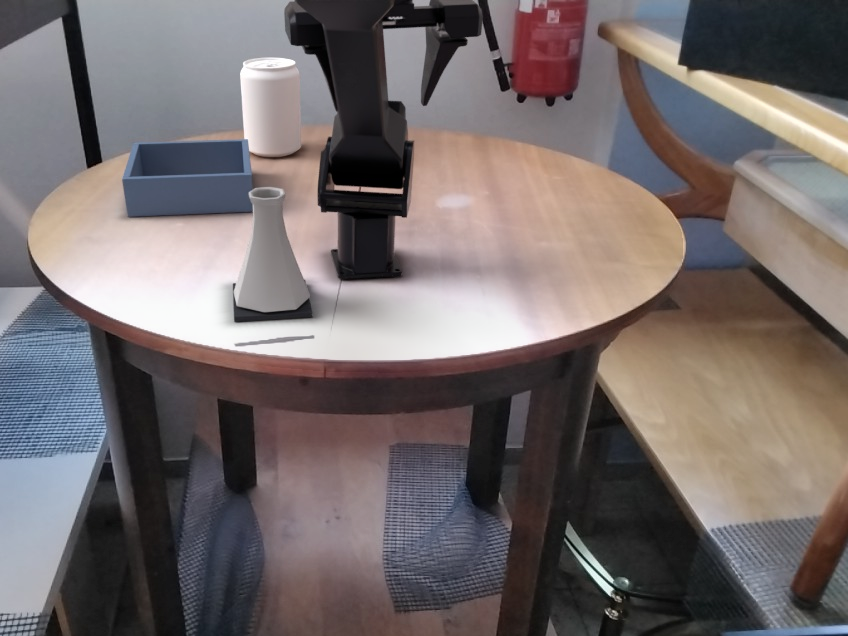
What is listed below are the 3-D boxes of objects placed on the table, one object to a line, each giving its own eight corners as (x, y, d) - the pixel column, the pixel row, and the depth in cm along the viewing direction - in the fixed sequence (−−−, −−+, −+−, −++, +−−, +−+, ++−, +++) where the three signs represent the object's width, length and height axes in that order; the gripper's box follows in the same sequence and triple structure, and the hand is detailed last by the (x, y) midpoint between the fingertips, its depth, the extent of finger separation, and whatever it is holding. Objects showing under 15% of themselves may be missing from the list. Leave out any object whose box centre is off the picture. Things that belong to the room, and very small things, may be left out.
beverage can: (236, 156, 112) (229, 66, 105) (258, 140, 118) (253, 55, 112) (289, 161, 110) (286, 70, 103) (309, 145, 116) (307, 58, 110)
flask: (315, 282, 76) (314, 180, 71) (304, 317, 70) (302, 209, 65) (242, 278, 77) (234, 177, 71) (224, 312, 71) (215, 205, 65)
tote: (254, 211, 93) (251, 174, 91) (127, 217, 91) (121, 179, 89) (249, 172, 105) (247, 138, 103) (138, 176, 104) (133, 142, 101)
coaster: (312, 317, 71) (312, 312, 71) (234, 322, 70) (233, 317, 70) (305, 283, 77) (305, 279, 77) (233, 287, 76) (232, 283, 76)
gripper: (458, -80, 80) (447, 78, 90) (274, -74, 78) (283, 88, 87) (491, -61, 71) (475, 112, 81) (286, -53, 69) (295, 124, 79)
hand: (380, 107), depth 82 cm, fingers open, 9 cm apart
